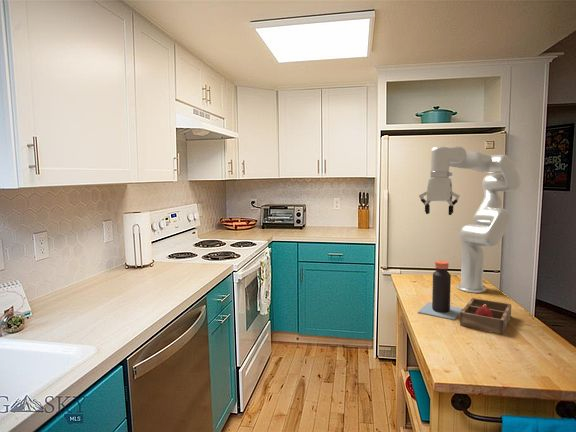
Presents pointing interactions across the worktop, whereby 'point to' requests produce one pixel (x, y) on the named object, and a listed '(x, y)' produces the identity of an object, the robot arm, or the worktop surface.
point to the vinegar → (441, 287)
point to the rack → (483, 322)
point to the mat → (448, 315)
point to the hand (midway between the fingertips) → (438, 214)
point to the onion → (484, 311)
